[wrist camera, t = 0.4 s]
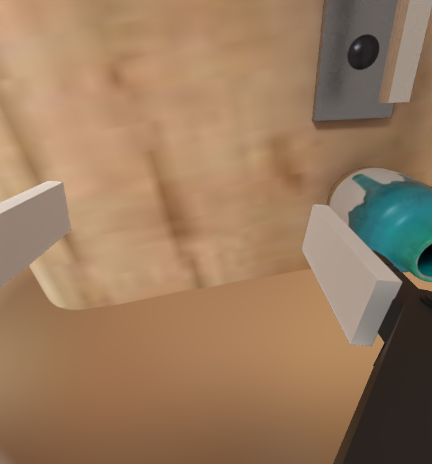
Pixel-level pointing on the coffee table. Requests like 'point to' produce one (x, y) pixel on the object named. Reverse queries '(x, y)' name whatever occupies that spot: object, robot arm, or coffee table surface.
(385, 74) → the bar
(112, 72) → the coffee table surface
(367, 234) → the vase
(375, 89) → the flange plate
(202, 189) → the coffee table surface
